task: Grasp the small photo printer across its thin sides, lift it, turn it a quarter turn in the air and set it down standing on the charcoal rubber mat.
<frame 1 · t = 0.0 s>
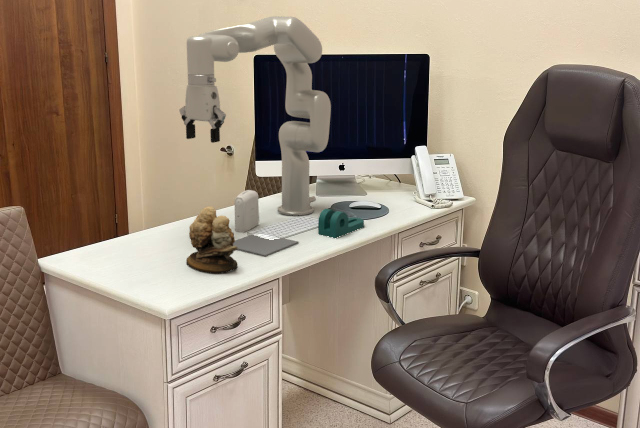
hand: (203, 140, 215), 31 cm above the table, fingers open, 9 cm apart
mat: (261, 245, 221), on the table
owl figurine: (213, 266, 203), on the table
bracket: (343, 231, 237), on the table
photo printer: (247, 228, 238), on the table
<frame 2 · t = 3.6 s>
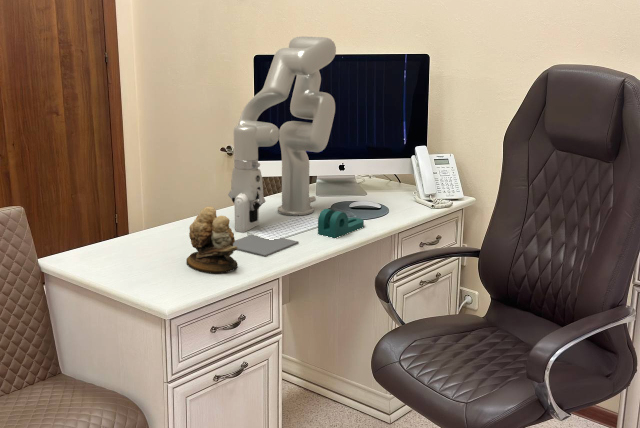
hand: (246, 219, 237), 3 cm above the table, fingers closed on photo printer, 4 cm apart
photo printer: (247, 228, 238), on the table, touching gripper
everything else where it was.
when the fingers open (5 cm above the table, at t = 9.8 s): photo printer drops 1 cm, resting on mat.
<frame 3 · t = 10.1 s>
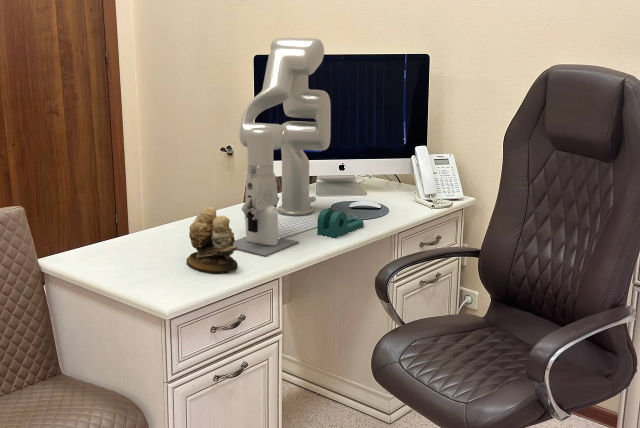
hand: (261, 228, 220), 5 cm above the table, fingers open, 7 cm apart
photo printer: (261, 243, 221), resting on mat
everything else where it was.
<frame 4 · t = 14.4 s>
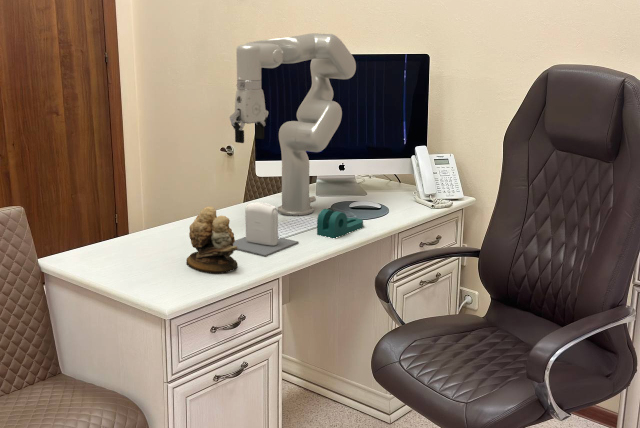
hand: (249, 140, 232), 28 cm above the table, fingers open, 9 cm apart
nothing on the table moved.
at the end: photo printer inside the target area on the mat (0.4 cm from its centre), point 0.4 cm above the mat's base; photo printer tilted 0°; the gripper is holding nothing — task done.
